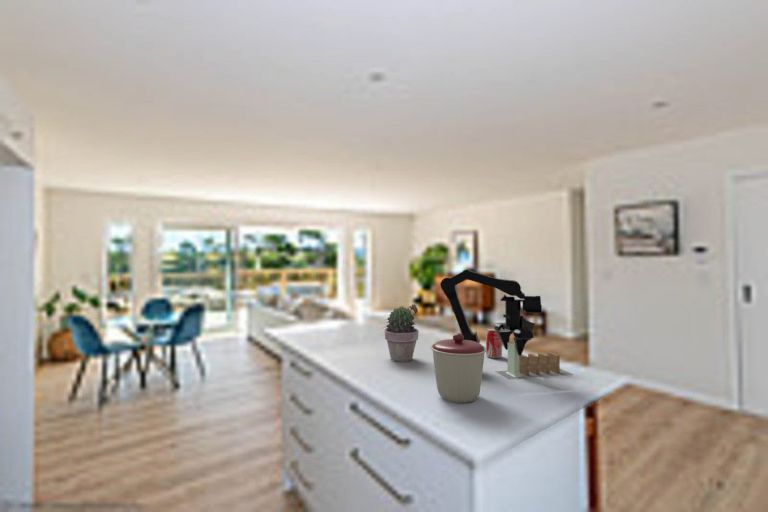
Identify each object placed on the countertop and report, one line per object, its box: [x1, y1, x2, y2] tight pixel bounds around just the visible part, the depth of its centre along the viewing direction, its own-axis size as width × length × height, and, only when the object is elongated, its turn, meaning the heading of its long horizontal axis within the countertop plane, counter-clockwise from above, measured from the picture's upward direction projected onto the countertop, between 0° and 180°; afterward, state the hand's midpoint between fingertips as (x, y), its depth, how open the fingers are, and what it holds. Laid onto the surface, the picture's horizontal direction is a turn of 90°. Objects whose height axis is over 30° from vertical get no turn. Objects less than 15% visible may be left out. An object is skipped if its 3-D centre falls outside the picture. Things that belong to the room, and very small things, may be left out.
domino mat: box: [494, 368, 573, 380], centre depth 147 cm, size 28×10×1 cm, turn 102°
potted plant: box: [378, 303, 419, 363], centre depth 170 cm, size 18×20×25 cm
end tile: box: [547, 351, 561, 373], centre depth 149 cm, size 2×5×7 cm, turn 12°
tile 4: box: [537, 352, 550, 374], centre depth 148 cm, size 2×5×7 cm, turn 12°
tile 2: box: [519, 353, 529, 376], centre depth 146 cm, size 2×5×7 cm, turn 12°
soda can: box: [485, 327, 503, 359], centre depth 173 cm, size 7×7×13 cm
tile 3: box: [527, 353, 540, 375], centre depth 147 cm, size 2×5×7 cm, turn 12°
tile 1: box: [507, 341, 519, 376], centre depth 145 cm, size 2×5×12 cm, turn 12°
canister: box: [430, 332, 487, 404], centre depth 122 cm, size 18×18×21 cm
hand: (513, 352), depth 145 cm, fingers open, 9 cm apart
